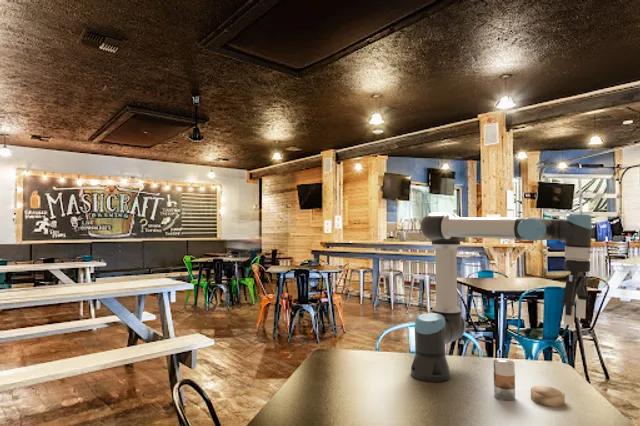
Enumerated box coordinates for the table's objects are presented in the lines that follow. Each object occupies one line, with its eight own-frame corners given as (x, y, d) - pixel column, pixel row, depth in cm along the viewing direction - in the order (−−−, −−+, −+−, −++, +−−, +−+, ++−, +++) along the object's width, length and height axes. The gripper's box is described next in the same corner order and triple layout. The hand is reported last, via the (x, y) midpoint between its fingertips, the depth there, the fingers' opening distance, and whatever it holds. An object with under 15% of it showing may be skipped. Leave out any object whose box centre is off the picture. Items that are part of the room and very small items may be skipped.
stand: (527, 401, 138) (527, 391, 139) (534, 392, 146) (534, 383, 146) (561, 409, 132) (561, 399, 132) (567, 399, 140) (567, 390, 140)
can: (491, 397, 142) (490, 361, 142) (497, 391, 147) (496, 356, 147) (512, 402, 138) (511, 365, 138) (517, 396, 143) (517, 360, 143)
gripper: (579, 263, 130) (576, 330, 130) (599, 257, 147) (597, 317, 148) (553, 260, 135) (550, 325, 136) (575, 255, 153) (573, 313, 153)
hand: (574, 321), depth 142 cm, fingers open, 13 cm apart
